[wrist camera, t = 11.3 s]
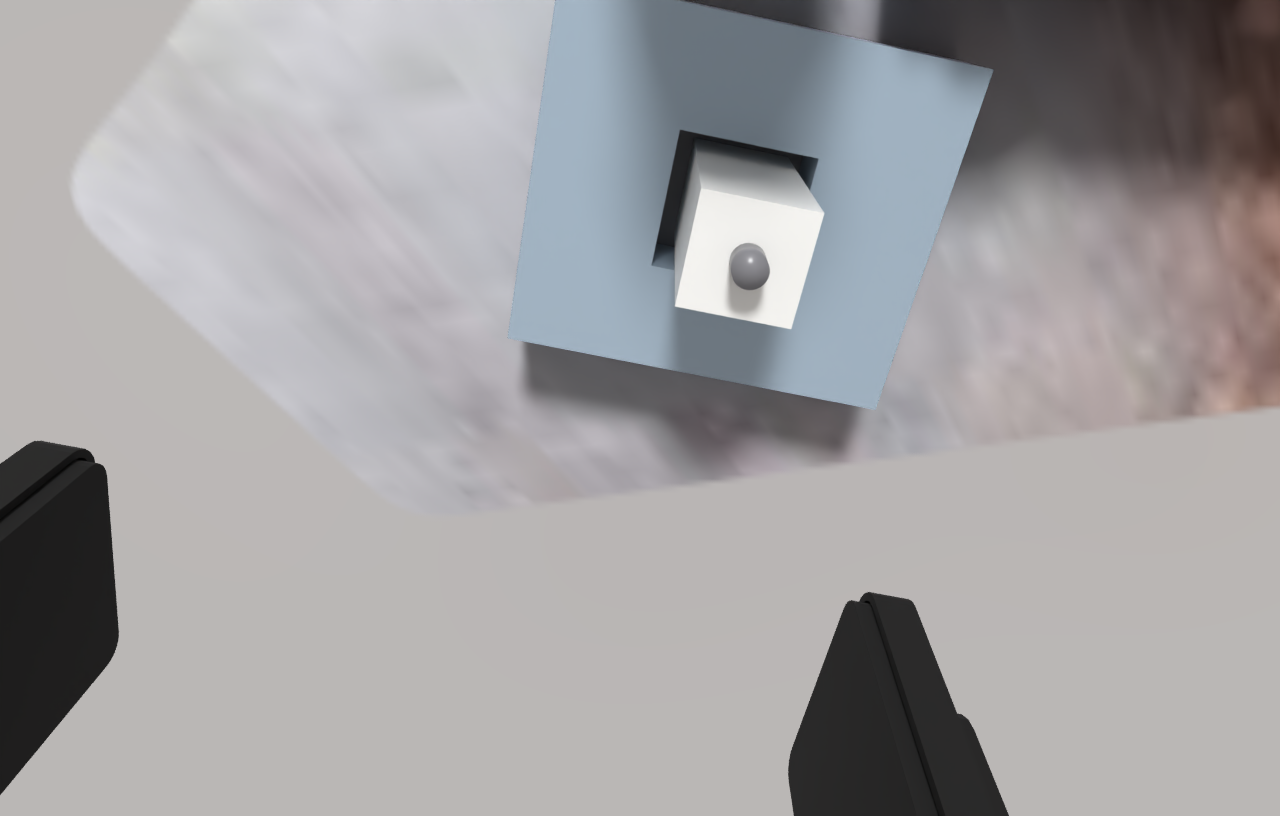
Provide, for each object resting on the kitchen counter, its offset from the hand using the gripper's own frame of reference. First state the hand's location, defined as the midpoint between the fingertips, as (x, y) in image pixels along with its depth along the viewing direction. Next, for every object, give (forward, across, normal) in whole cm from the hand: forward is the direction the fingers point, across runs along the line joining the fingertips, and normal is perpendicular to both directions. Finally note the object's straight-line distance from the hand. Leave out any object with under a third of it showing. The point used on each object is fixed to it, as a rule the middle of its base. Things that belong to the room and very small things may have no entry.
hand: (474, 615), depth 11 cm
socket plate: (+30, -5, 0) cm, 31 cm away
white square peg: (+29, -5, 0) cm, 30 cm away
